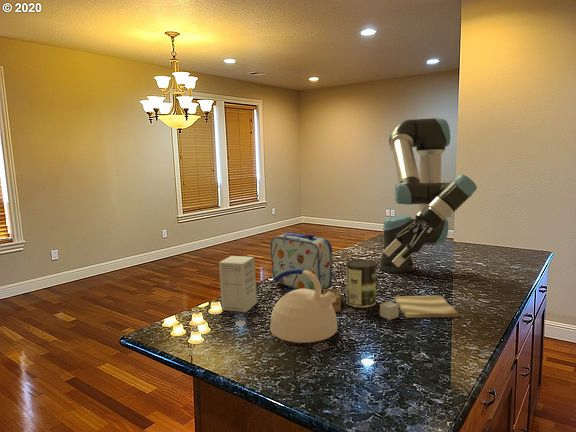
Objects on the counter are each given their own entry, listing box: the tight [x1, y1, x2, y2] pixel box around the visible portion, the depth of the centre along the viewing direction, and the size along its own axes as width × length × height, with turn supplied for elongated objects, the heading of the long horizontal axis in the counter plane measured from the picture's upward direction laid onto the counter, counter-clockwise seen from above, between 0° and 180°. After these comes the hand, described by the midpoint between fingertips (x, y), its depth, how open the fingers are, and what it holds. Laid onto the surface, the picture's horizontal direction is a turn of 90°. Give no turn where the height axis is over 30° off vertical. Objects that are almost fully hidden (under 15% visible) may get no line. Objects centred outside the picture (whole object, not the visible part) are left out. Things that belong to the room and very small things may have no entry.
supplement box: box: [218, 255, 258, 313], centre depth 139 cm, size 10×9×17 cm
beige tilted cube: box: [379, 300, 400, 321], centre depth 128 cm, size 4×4×4 cm
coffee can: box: [345, 258, 377, 309], centre depth 140 cm, size 10×10×14 cm
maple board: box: [394, 295, 459, 319], centre depth 134 cm, size 16×16×1 cm
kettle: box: [269, 269, 339, 344], centre depth 120 cm, size 20×21×18 cm
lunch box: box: [270, 231, 336, 291], centre depth 156 cm, size 28×10×22 cm, turn 47°
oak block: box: [322, 288, 342, 302], centre depth 142 cm, size 5×6×4 cm
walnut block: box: [321, 292, 342, 313], centre depth 135 cm, size 5×5×5 cm
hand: (389, 259), depth 137 cm, fingers open, 13 cm apart
